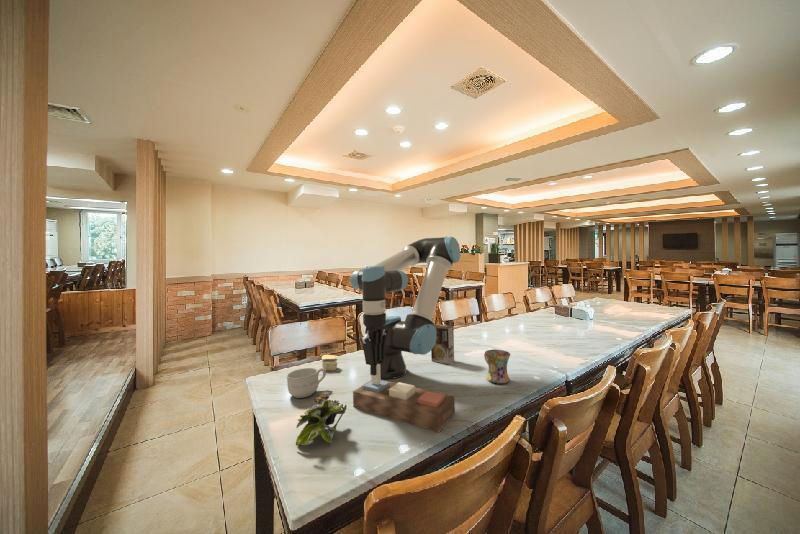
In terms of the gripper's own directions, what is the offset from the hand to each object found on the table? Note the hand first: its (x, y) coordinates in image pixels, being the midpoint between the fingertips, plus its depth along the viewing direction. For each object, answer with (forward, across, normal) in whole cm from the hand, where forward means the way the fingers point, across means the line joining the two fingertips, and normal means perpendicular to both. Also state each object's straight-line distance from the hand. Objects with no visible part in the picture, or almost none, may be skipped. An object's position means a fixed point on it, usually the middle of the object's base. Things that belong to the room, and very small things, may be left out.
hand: (376, 383), depth 99 cm
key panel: (+6, 0, -10) cm, 12 cm away
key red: (+4, 0, -20) cm, 20 cm away
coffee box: (+7, +47, -4) cm, 48 cm away
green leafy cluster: (+7, -23, +1) cm, 24 cm away
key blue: (+4, 0, 0) cm, 4 cm away
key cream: (+3, 0, -10) cm, 11 cm away
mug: (+7, +37, -30) cm, 48 cm away
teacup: (+7, -6, +26) cm, 27 cm away
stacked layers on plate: (+7, +16, +37) cm, 40 cm away
